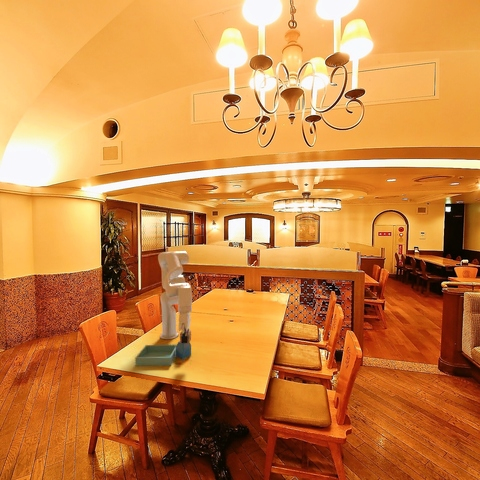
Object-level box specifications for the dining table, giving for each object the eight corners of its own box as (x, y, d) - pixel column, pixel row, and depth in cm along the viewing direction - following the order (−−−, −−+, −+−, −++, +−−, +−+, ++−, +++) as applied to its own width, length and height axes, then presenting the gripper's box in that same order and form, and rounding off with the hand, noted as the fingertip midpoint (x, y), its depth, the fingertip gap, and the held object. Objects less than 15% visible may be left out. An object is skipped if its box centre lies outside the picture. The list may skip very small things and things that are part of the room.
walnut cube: (182, 339, 143) (181, 330, 143) (190, 339, 143) (190, 330, 143) (180, 343, 138) (179, 334, 138) (189, 343, 138) (189, 334, 138)
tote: (145, 352, 154) (145, 345, 154) (177, 351, 154) (177, 344, 154) (135, 365, 139) (135, 357, 139) (171, 365, 139) (170, 357, 139)
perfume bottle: (176, 356, 149) (175, 336, 148) (183, 352, 154) (183, 332, 154) (183, 359, 145) (183, 338, 145) (191, 355, 151) (190, 335, 150)
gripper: (181, 303, 148) (182, 334, 149) (174, 313, 131) (175, 347, 132) (194, 303, 148) (194, 334, 149) (188, 313, 131) (189, 347, 132)
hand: (185, 340), depth 141 cm, fingers closed on walnut cube, 5 cm apart
